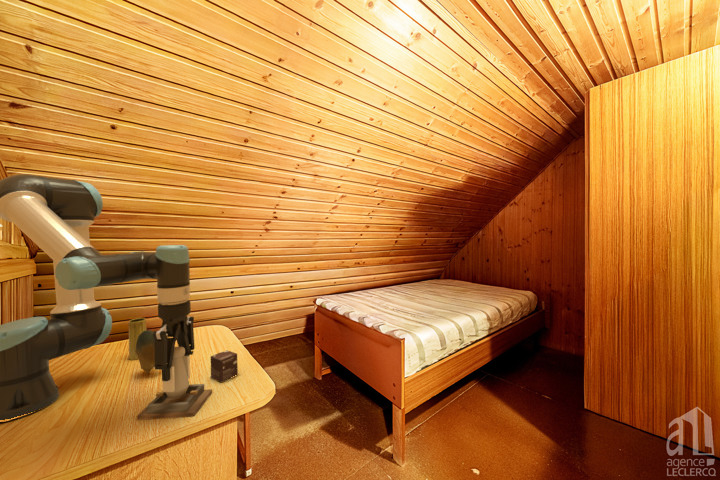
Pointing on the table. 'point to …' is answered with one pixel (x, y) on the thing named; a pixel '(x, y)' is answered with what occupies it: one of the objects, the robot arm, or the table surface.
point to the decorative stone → (146, 350)
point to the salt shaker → (179, 374)
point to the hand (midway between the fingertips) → (177, 384)
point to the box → (224, 366)
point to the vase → (135, 335)
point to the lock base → (176, 404)
